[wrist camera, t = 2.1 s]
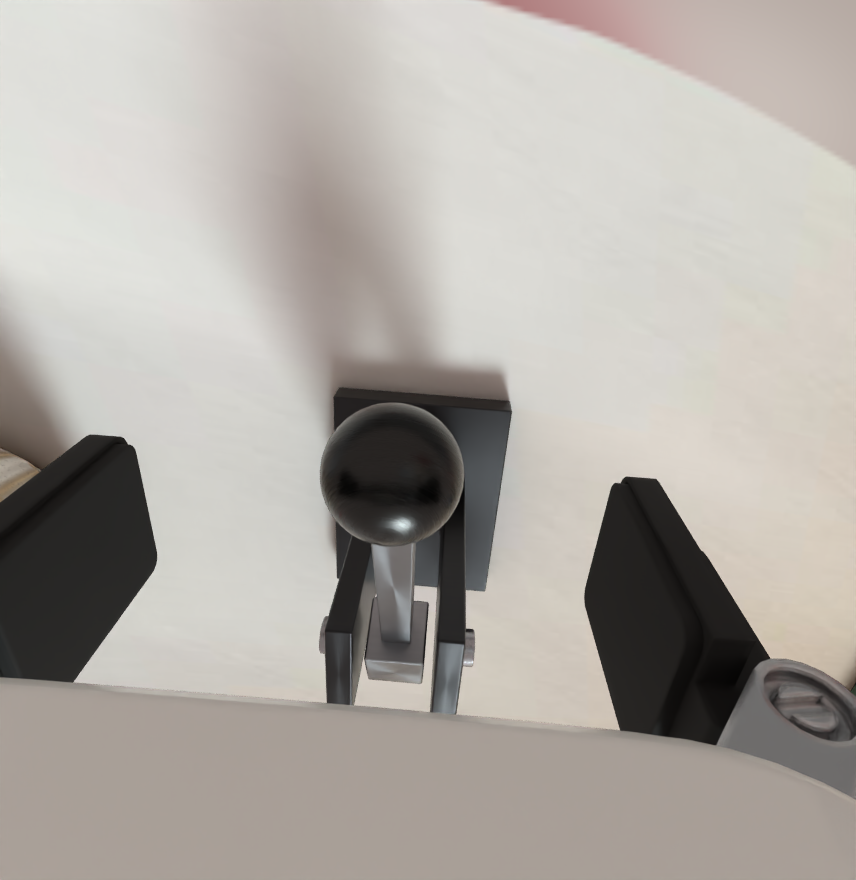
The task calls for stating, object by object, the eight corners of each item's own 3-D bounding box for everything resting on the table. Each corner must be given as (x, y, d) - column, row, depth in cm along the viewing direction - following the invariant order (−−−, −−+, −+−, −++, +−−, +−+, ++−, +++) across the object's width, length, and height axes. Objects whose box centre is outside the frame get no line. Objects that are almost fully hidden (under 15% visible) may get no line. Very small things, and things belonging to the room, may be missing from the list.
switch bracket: (338, 386, 29) (258, 539, 18) (510, 400, 29) (540, 563, 17) (340, 564, 35) (281, 766, 23) (484, 577, 34) (495, 786, 23)
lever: (326, 366, 12) (294, 490, 10) (473, 378, 12) (467, 505, 10) (365, 610, 24) (353, 689, 22) (438, 617, 24) (433, 696, 22)
